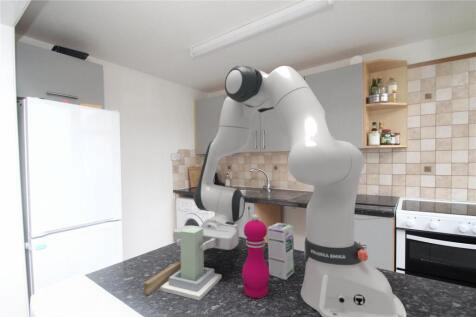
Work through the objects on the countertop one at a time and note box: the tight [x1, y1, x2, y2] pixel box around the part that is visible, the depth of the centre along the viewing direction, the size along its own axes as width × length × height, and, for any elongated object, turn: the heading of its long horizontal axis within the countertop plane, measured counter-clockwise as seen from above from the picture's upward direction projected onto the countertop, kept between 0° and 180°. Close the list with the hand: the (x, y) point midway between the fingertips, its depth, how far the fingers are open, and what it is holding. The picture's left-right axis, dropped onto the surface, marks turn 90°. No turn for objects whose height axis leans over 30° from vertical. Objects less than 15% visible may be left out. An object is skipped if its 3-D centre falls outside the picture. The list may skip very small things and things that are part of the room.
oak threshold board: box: [143, 259, 181, 296], centre depth 69 cm, size 2×15×3 cm, turn 157°
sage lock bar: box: [180, 227, 205, 281], centre depth 67 cm, size 4×4×14 cm
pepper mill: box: [241, 214, 271, 299], centre depth 63 cm, size 7×7×20 cm
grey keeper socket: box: [159, 266, 223, 301], centre depth 67 cm, size 12×12×3 cm
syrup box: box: [267, 222, 295, 281], centre depth 72 cm, size 6×6×14 cm
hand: (190, 245), depth 66 cm, fingers open, 6 cm apart
